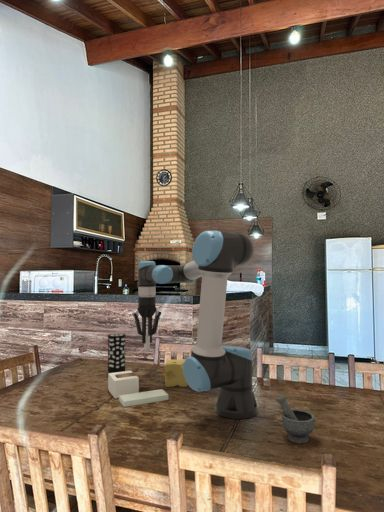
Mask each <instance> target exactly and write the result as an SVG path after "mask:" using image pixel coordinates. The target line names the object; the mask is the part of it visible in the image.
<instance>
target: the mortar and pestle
mask: <svg viewBox="0 0 384 512" xmlns="http://www.w3.org/2000/svg"><path fill="white" fill-rule="evenodd" d="M276 400H277V403H278V404H279V405H280V407H281V409H282V412H281V421H282V426H283V429H284V430H285V432H286V433H287V440H289V441H291V442H292V443H295V444H297V443H298V444H306V443H308V442H309V441H310V437H309V435H310V434H311V433H312V432H313V431H314V430H315V423H316V421H315V419H316V418H315V415H314V414H313V413H311V412H308V411H307V410H302V409H292V407H291V405H290V404H289V403H288V401H287V398H286V395H281V396H279V397H277V399H276Z"/></svg>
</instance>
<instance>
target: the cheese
mask: <svg viewBox="0 0 384 512" xmlns="http://www.w3.org/2000/svg"><path fill="white" fill-rule="evenodd" d="M185 359H186V358H182V359H181V358H180V359H166V362H165V364H164V386H165V387H166V388H167V387H169V388H170V387H173V388H174V387H181V388H183V387H185V388H188V386H189V385H188V383H187V381H186V379H185V377H184V373H183V363H184V360H185Z"/></svg>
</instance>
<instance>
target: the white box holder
mask: <svg viewBox="0 0 384 512" xmlns="http://www.w3.org/2000/svg"><path fill="white" fill-rule="evenodd" d="M126 373H134V372H133V371H132V370H125V371H123V372H115V373H108V372H107V379H108V380H107V381H108V382H107V388H108V389H107V390H108V391H109V393H110V394H111V396H112V397H113V398H114V399H119V396H120V395H126V394H133V393H140V390H139V389H140V385H139V384H140V382H139V377H137V376H130V377H123V378H117V377H116V375H117V374H126Z"/></svg>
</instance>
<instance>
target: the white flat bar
mask: <svg viewBox="0 0 384 512" xmlns="http://www.w3.org/2000/svg"><path fill="white" fill-rule="evenodd" d="M162 401H169V394H168V392H166V391H165V390H164V389H163V388H162V389H155V390H154V389H153V390H148V391H141V392H140V391H139V393H133V394H126V395H120V396H119V398H118V402H119V403H120V404H121V405H122V407H123V408H126V407H132V406H138V405H145V404H151V403H157V402H158V403H159V402H162Z"/></svg>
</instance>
